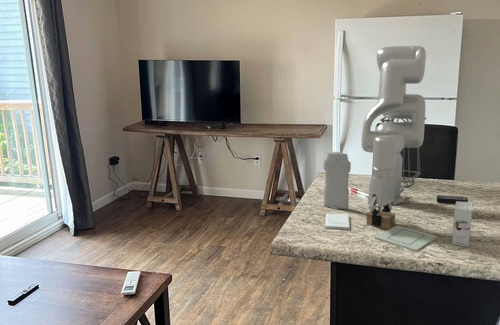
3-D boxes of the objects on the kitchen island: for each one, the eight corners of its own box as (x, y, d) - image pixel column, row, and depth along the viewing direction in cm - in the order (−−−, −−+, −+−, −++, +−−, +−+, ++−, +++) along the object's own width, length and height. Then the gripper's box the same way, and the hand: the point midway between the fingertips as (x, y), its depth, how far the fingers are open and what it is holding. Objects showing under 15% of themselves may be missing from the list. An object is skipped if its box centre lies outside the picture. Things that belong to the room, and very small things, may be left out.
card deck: (372, 220, 159) (373, 208, 158) (394, 224, 155) (395, 213, 154) (366, 224, 156) (367, 212, 155) (388, 229, 151) (389, 217, 150)
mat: (397, 226, 153) (397, 225, 153) (437, 238, 143) (437, 236, 143) (374, 238, 144) (375, 236, 143) (416, 251, 134) (416, 249, 133)
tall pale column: (320, 206, 174) (321, 151, 169) (324, 203, 178) (325, 149, 172) (347, 210, 169) (349, 154, 164) (350, 207, 173) (352, 151, 167)
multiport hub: (436, 200, 180) (436, 194, 179) (466, 202, 177) (466, 197, 176) (437, 203, 176) (437, 198, 175) (467, 206, 173) (468, 200, 172)
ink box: (452, 234, 145) (455, 200, 143) (469, 237, 143) (472, 202, 140) (451, 244, 138) (454, 208, 135) (469, 247, 136) (472, 210, 133)
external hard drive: (348, 218, 163) (349, 231, 151) (325, 217, 165) (325, 230, 153) (348, 214, 163) (349, 226, 151) (326, 213, 164) (325, 225, 152)
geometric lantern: (408, 191, 192) (411, 109, 184) (376, 184, 203) (377, 107, 195) (426, 183, 202) (429, 105, 194) (394, 177, 213) (396, 104, 205)
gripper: (386, 166, 159) (384, 214, 163) (359, 175, 148) (357, 226, 152) (406, 169, 154) (403, 219, 158) (380, 179, 142) (377, 232, 147)
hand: (381, 222), depth 155 cm, fingers closed on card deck, 5 cm apart
